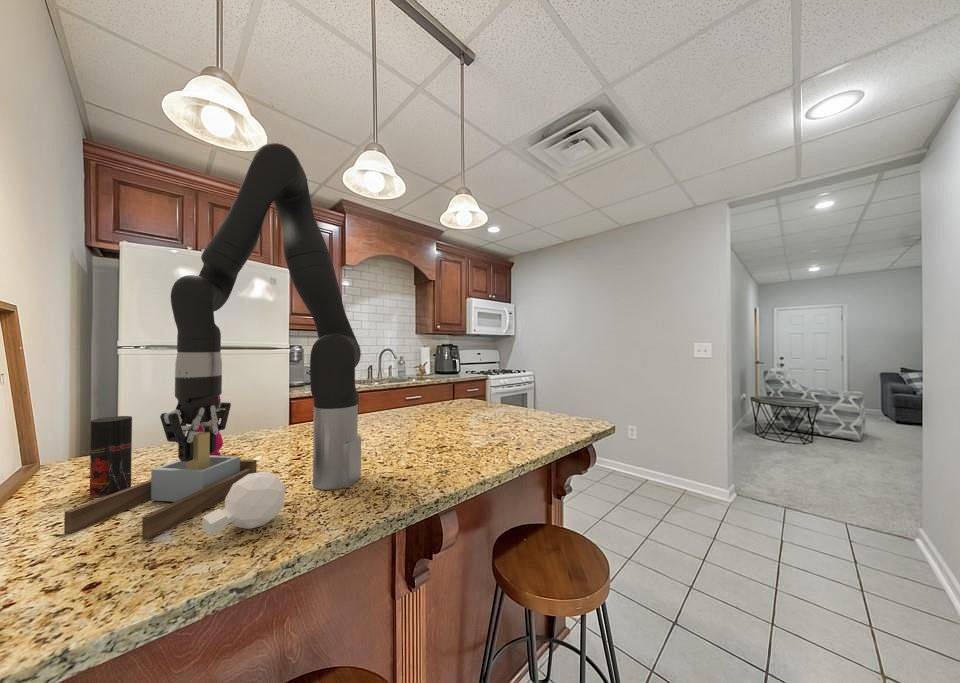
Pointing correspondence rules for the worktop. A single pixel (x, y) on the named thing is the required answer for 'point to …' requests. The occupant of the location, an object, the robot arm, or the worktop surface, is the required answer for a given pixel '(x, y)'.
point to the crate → (192, 472)
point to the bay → (159, 518)
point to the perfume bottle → (248, 503)
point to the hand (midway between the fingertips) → (198, 456)
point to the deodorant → (110, 455)
